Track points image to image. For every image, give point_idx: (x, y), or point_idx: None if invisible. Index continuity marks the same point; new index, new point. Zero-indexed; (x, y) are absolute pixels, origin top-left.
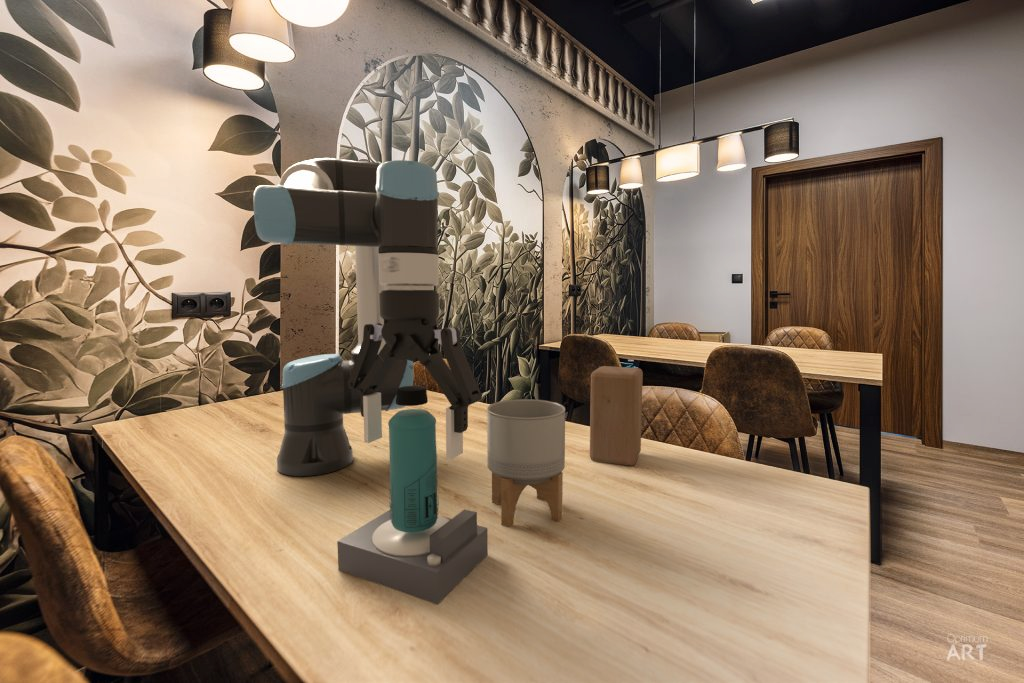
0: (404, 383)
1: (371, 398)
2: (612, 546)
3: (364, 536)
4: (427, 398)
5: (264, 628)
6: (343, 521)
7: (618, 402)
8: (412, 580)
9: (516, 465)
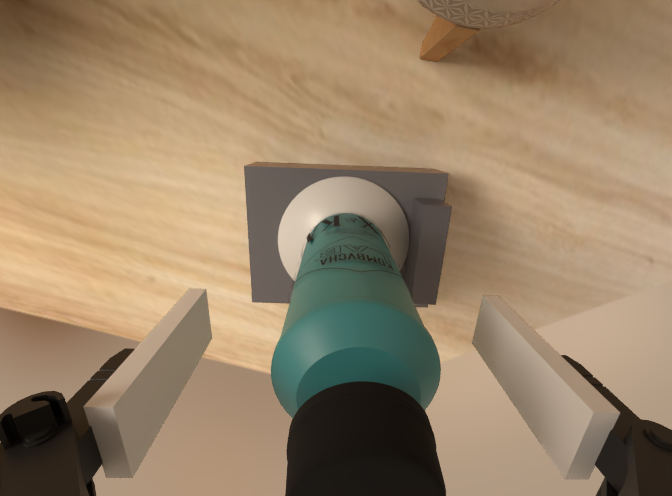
0: None
1: (135, 445)
2: (636, 47)
3: (277, 277)
4: (429, 425)
5: None
6: (149, 176)
7: None
8: None
9: (524, 13)
